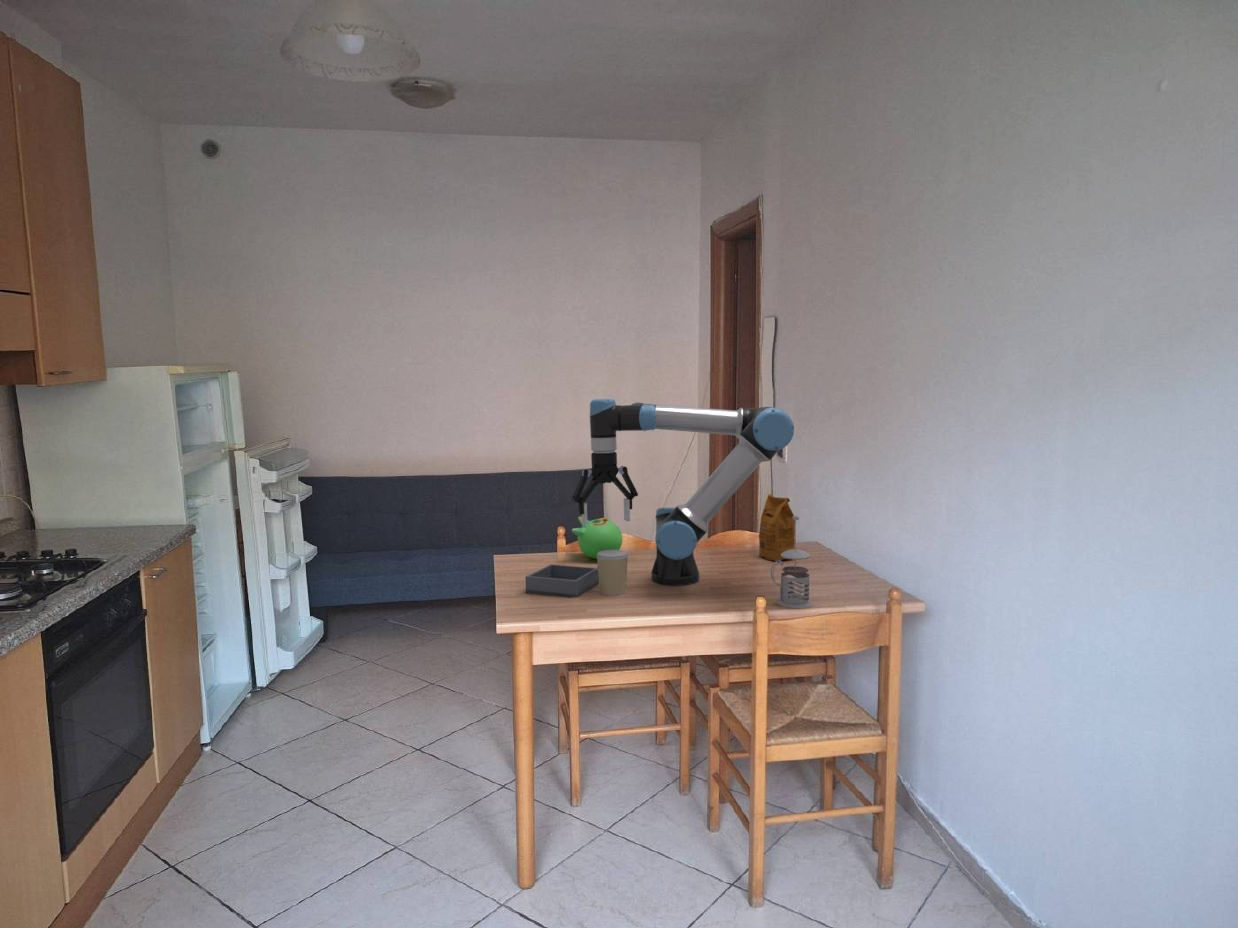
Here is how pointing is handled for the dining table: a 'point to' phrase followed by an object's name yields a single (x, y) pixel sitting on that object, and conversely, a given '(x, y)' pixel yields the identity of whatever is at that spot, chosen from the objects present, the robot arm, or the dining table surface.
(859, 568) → the dining table surface
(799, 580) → the french press
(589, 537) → the green round figure
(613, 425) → the robot arm
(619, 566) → the coffee cup
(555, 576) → the bin
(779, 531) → the coffee package
